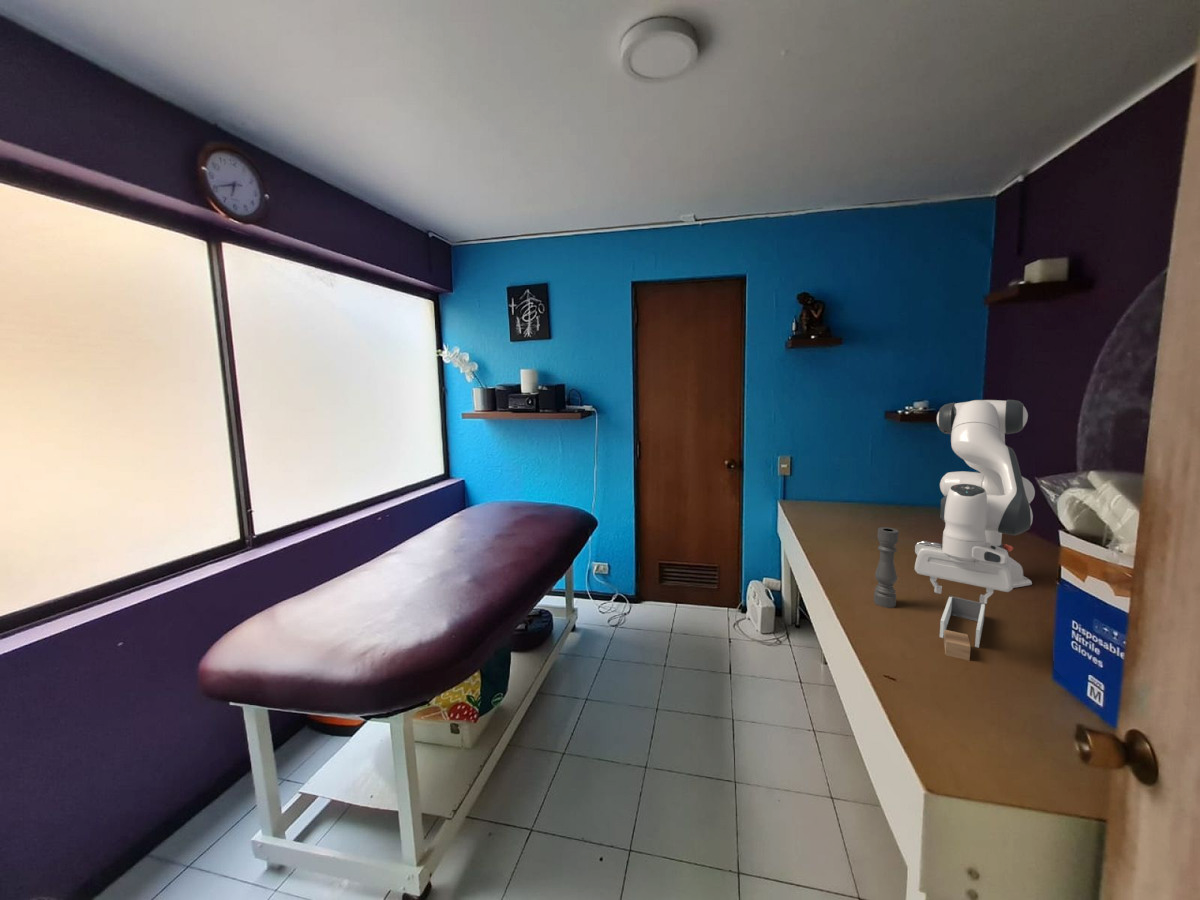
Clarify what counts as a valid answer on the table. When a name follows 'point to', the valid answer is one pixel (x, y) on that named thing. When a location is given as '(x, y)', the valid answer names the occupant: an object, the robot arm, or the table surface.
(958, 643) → the light brown block
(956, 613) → the white channel
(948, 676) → the table surface
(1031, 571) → the table surface
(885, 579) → the candle holder
